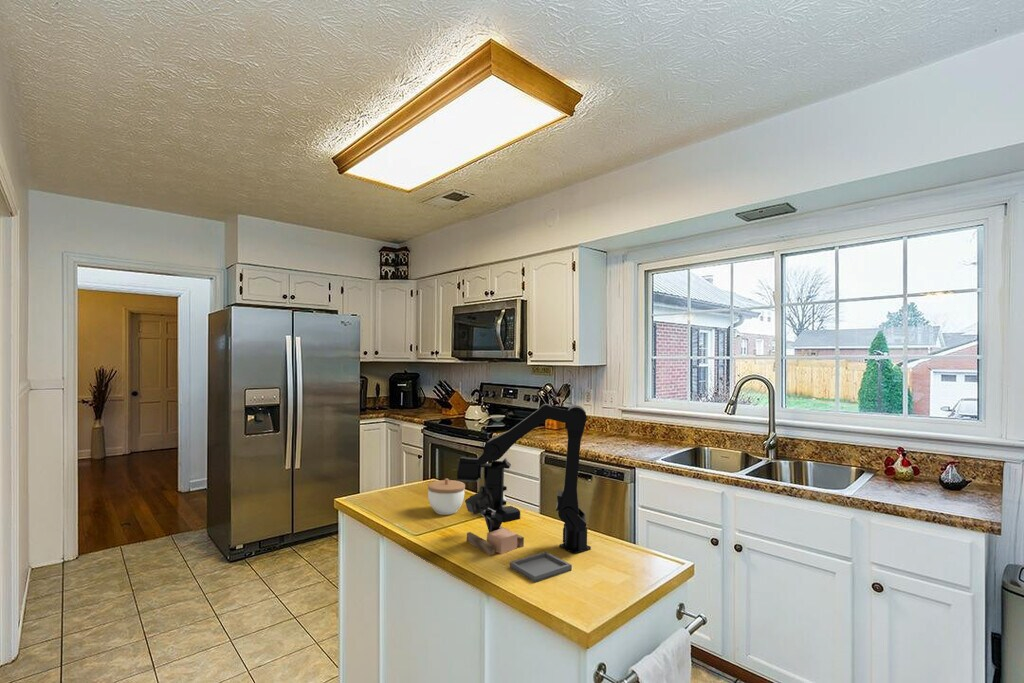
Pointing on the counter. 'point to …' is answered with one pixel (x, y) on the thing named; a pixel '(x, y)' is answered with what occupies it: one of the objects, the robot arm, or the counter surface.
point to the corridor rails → (487, 546)
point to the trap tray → (540, 566)
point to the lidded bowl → (446, 496)
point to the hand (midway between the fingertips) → (492, 537)
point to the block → (502, 540)
